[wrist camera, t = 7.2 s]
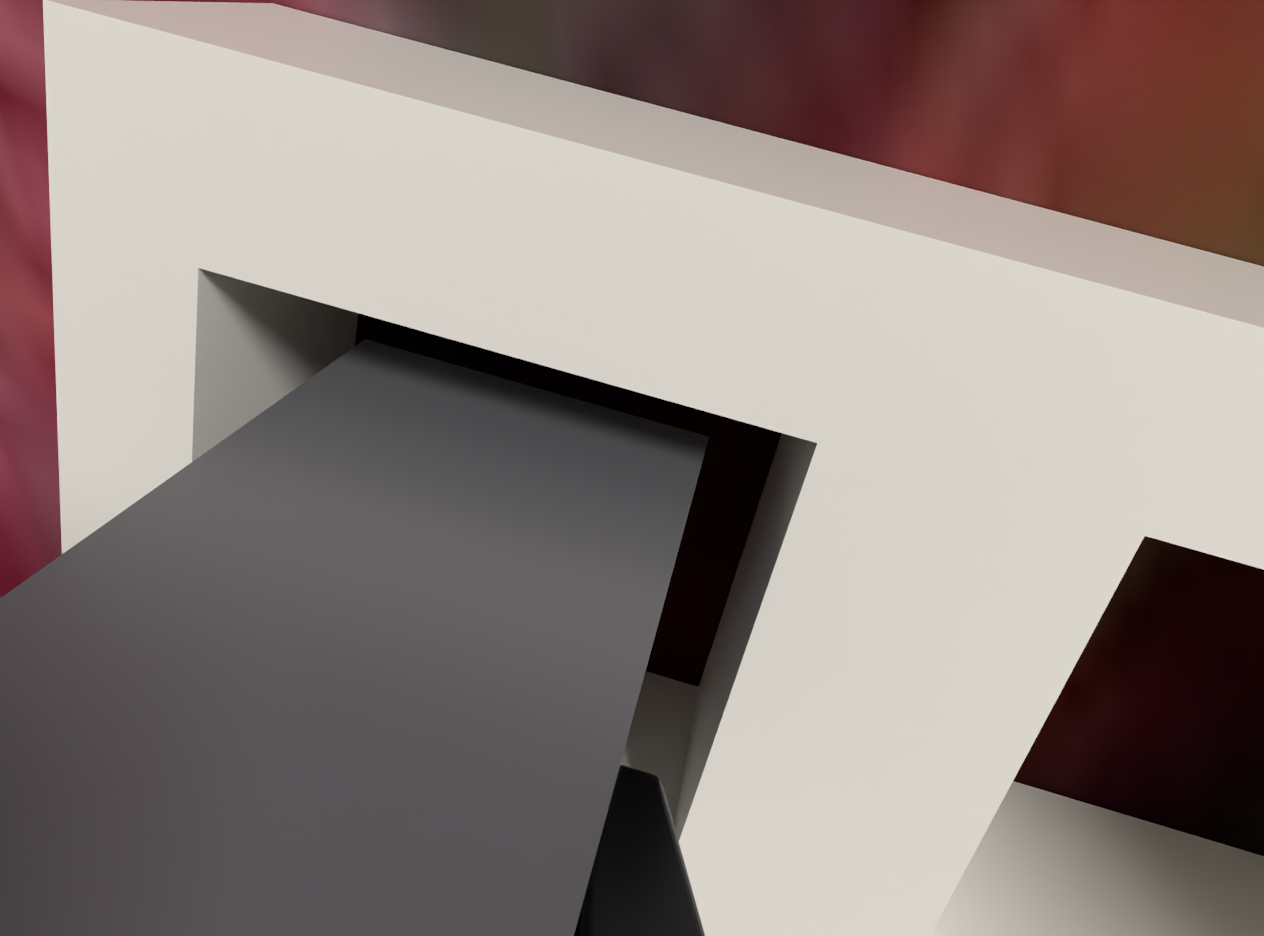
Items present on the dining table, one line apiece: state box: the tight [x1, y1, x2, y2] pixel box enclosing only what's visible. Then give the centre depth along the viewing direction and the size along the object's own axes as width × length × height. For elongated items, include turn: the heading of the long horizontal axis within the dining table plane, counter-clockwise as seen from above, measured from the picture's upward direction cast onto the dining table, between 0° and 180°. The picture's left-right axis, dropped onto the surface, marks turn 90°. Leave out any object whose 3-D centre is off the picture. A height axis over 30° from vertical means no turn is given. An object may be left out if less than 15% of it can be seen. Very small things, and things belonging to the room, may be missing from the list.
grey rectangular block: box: [0, 339, 709, 936], centre depth 7 cm, size 4×4×11 cm
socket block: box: [43, 0, 1264, 936], centre depth 12 cm, size 18×12×4 cm, turn 77°
